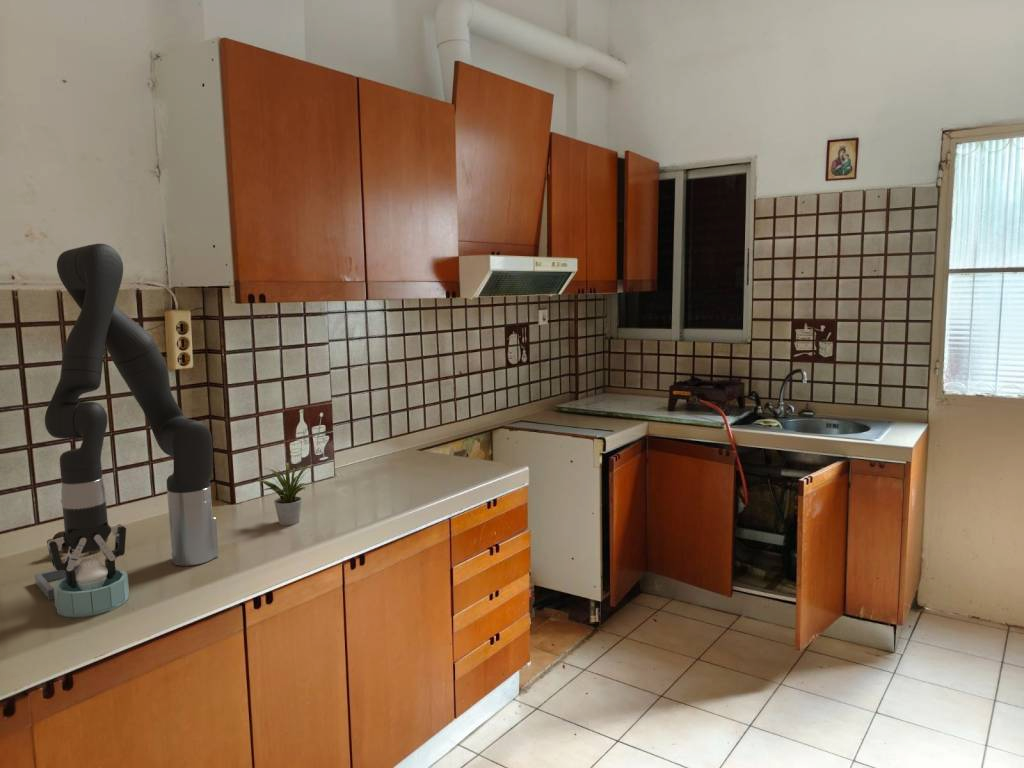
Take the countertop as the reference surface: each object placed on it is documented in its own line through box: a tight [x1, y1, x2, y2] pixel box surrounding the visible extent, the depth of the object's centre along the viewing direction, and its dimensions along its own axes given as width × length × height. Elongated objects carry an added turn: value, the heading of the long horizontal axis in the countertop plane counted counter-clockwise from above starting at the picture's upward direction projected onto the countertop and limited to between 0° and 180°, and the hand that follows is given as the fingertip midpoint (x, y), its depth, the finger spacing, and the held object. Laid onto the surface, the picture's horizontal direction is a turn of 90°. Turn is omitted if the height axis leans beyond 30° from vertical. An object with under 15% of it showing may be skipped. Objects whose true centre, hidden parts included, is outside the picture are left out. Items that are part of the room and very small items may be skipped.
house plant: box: [258, 462, 314, 526], centre depth 201 cm, size 14×14×16 cm
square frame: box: [34, 563, 80, 601], centre depth 161 cm, size 12×12×2 cm
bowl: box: [52, 567, 130, 619], centre depth 150 cm, size 13×13×5 cm
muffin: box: [75, 556, 108, 591], centre depth 150 cm, size 6×6×7 cm
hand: (91, 582), depth 150 cm, fingers closed on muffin, 6 cm apart
